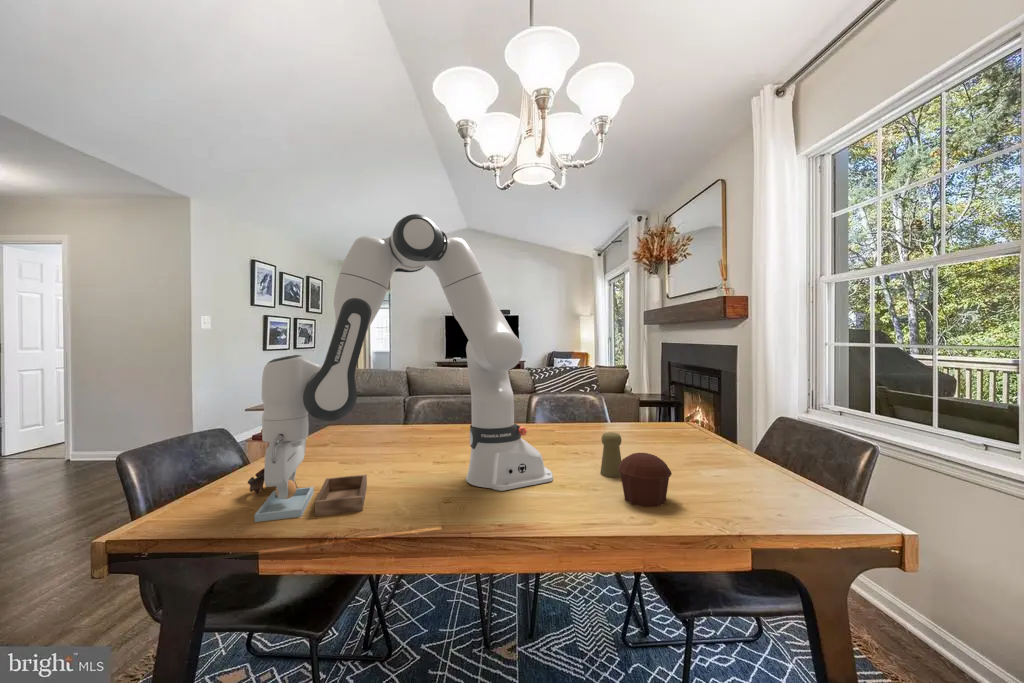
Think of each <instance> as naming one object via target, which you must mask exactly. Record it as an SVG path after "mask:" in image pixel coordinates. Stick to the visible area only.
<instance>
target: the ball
mask: <svg viewBox="0 0 1024 683" xmlns="http://www.w3.org/2000/svg"><path fill="white" fill-rule="evenodd" d="M296 485H297V483H296V484H295V483H294V482H293V481H291V480H288V488H289V496H288V497H287V498H286V499H289V498H291V497H292V496H293V495H294V494H295V492H296V489H297V487H298V486H297V487H296ZM275 491H276V495H277V496H278V490H277V487H276V486H275Z"/></svg>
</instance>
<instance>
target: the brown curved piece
mask: <svg viewBox="0 0 1024 683" xmlns="http://www.w3.org/2000/svg"><path fill="white" fill-rule="evenodd" d="M264 469H265V467H263V468H262V469H260V470H259V471H258V472H256V473H255V474H254V475H255V476H256V477H254V476H251V477H250V479H248V481H247V484H248V485H249V492H251V493H255V494H258V493H259V492H260V491H262V490H264V485H265V482H264ZM295 484H296V487H297V488H298V485H297V483H296V481H295Z"/></svg>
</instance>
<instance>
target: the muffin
mask: <svg viewBox="0 0 1024 683" xmlns="http://www.w3.org/2000/svg"><path fill="white" fill-rule="evenodd" d="M618 471H619V472H620V474H621V477H620V478H621V484H622V490H623V496H624V497H623V498H624V501H626V502H628V503H630V504H631V505H634V506H639V507H644V508H651V507H652V508H659V507H661V506H662V505H665V504H666V500H667V494H668V489H669V480H670V477H671V476H672V470H671V469H670V468H669V466H668V465H667V464H666V461H664V460H663V459H661V458H660V457H658V456H657V455H655V454H651V453H647V452H636V453H635V452H633V453H631V454H630V455H627V456H626V457H624V458H623V459H621V463H620V464H619V466H618Z"/></svg>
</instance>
